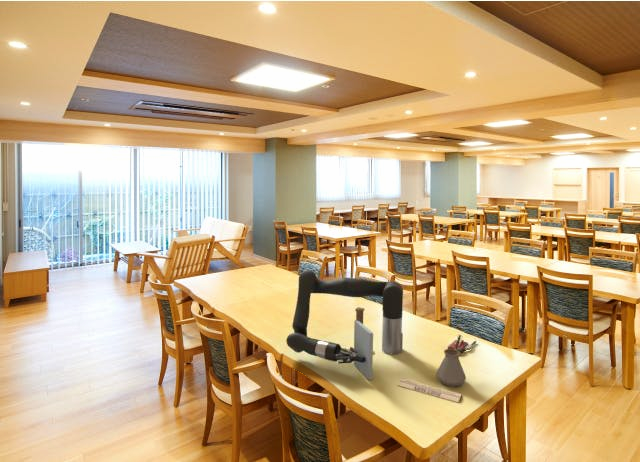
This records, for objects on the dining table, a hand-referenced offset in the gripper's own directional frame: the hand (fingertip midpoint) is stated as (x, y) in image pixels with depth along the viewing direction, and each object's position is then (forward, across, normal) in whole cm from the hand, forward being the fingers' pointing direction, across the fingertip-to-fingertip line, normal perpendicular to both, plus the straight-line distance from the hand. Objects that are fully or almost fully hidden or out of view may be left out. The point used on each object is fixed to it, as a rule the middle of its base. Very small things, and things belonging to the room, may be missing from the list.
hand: (364, 359), depth 162 cm
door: (-2, +5, +7) cm, 9 cm away
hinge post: (-8, +12, +8) cm, 17 cm away
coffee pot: (+32, +20, +8) cm, 39 cm away
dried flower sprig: (+30, +52, +8) cm, 60 cm away
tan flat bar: (+26, +3, +9) cm, 28 cm away
